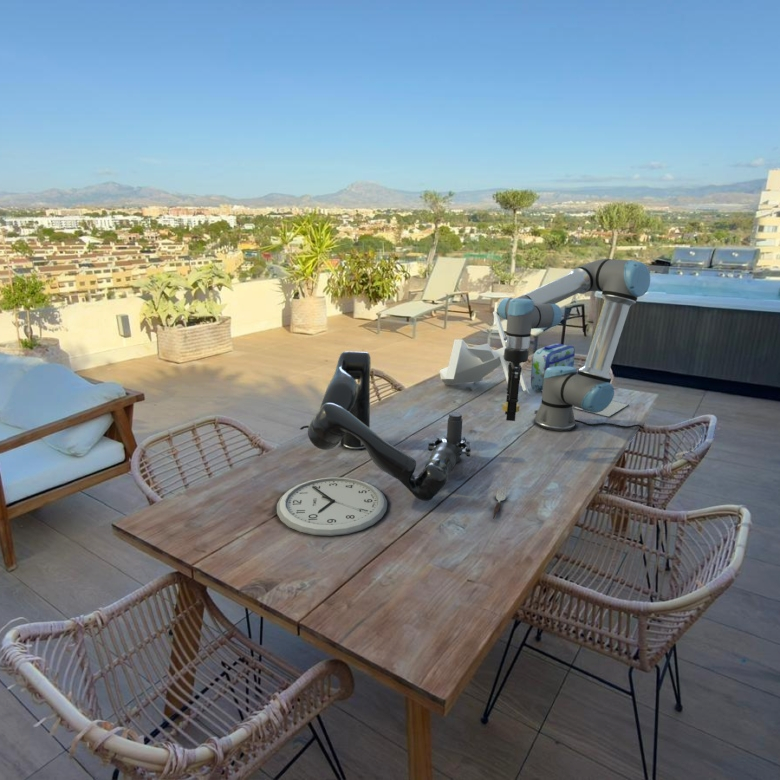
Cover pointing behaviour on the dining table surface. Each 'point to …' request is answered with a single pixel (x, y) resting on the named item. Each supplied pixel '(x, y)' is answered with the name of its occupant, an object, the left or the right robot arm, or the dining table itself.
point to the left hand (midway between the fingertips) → (455, 438)
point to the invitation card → (610, 408)
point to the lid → (507, 406)
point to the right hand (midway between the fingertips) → (509, 417)
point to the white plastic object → (476, 361)
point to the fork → (499, 498)
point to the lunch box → (550, 361)
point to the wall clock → (331, 506)
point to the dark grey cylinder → (454, 428)
